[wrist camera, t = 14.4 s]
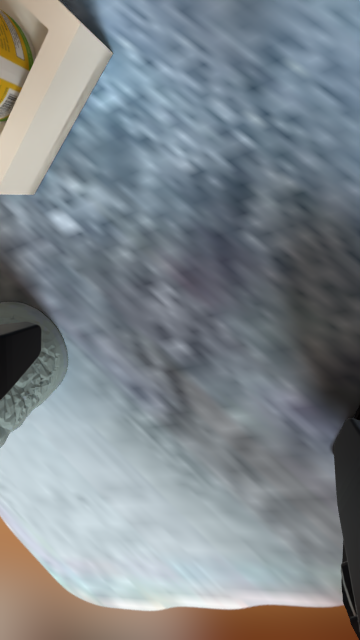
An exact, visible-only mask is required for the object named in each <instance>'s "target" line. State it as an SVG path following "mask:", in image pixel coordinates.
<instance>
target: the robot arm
mask: <svg viewBox="0 0 360 640" xmlns="http://www.w3.org/2000/svg"><path fill="white" fill-rule="evenodd" d="M41 336H42V330H41V327H40V325H38V324H35V323H32V322H27V321H26V322H17V323H9V324H0V400H1V399H2V398H3V397H4V396H5V395H6V394H7V393H8V392H9V391H10V390H11V389H12V388H13V386H14V385H15V384H16V383H17V382H18V380H19V379H20V378H21V377H22V376H23V374H24V373H25V372H26V371H27V370H28V369H29V367H30V366H31V365H32V364H33V363H34V361H35V360H36V359H37V358H38V356H39V355H40V352H41ZM334 461H335V477H336V493H337V505H338V511H339V517H340V523H341V528H342V534H343V561H342V564H341V575H342V593H343V603H344V606H345V608H346V610H347V613H348V616H349V618H350V622H351V625H352V627H353V629H354V631H355V633H356V634H357V636H358V638H359V640H360V407H359V408H358V410H357V412H356V414H355V416H354V418H349V419H347V420H346V421H345V423H344V425H343V427H342V429H341V431H340V433H339V435H338V437H337V439H336V441H335V444H334Z"/></svg>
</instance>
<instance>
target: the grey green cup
mask: <svg viewBox="0 0 360 640" xmlns="http://www.w3.org/2000/svg"><path fill="white" fill-rule="evenodd" d="M26 321H27V322H32V323H35V324H38V325H40V327H41V330H42V336H41V352H40V355H39V356H38V358H37V359H36V360H35V361H34V363H33V364H32V365H31V366H30V367H29V369H28V370H27V371H26V372H25V373H24V374H23V376H22V377H21V378H20V379H19V380H18V382H17V383H16V384H15V385H14V386H13V388H12V389H11V390H10V391H9V392H8V393H7V394H6V395H5V396H4V397H3V398H2V399H1V400H0V448H1V447H2V445H3V444H4V443H5V441H6V439H7V437H8V435H9V434H10V432H12V431H14V430H16V429H17V428H18V427H20V426H21V425H22V423H23V422H24V420H25V419H26V417H27V416H28V415H29V414H30V413H31V411H32V410H33V409H35V408H36V407H38V406H39V405H40V404H42V403H43V402H44V401H45V400H46V399H47V398H48V397H49V396H50V395H51V394H52V393H53V391H54V390H55V389H56V388H57V387H58V386H59V385H60V383H61V382H62V381H63V379H64V377H65V374H66V372H67V367H68V353H67V348H66V345H65V342H64V340H63V337H62V336H61V334H60V332H59V330H58V329H57V328H56V326H55V325H54V324H53V322H52V321H51V320H50V319H49V318H48V317H47V316H45V315H44V314H43V313H42V312H40V311H39V310H37V309H35V308H34V307H32V306H29V305H27V304H24V303H20V302H1V303H0V324H9V323H17V322H26Z"/></svg>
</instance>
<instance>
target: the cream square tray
mask: <svg viewBox="0 0 360 640" xmlns="http://www.w3.org/2000/svg"><path fill="white" fill-rule="evenodd" d="M0 9H1V10H2V11H4V12H5V13H6V14H8V15H9V16H10V17H11V18H13V19H14V20H15V21H16V22H17V23H18V24H19V25H20V26H21V27H22V28H23V30H24V31H25V32H26V34H27V36H28V37H29V39H30V41H31V43H32V46H33V48H34V51H35V54H36V59H35V61H34V63H33V66H32V68H31V70H30V72H29V74H28V76H27V79H26V81H25V83H24V85H23V87H22V89H21V92H20V94H19V96H18V98H17V100H16V102H15V105H14V107H13V109H12V111H11V113H10V115H9V118H8V120H7V122H0V194H4V195H34V194H35V192H36V190H37V189H38V187H39V185H40V183H41V181H42V180H43V178H44V176H45V174H46V172H47V171H48V169H49V167H50V165H51V164H52V162H53V160H54V158H55V156H56V155H57V153H58V151H59V149H60V147H61V146H62V144H63V142H64V140H65V138H66V137H67V135H68V133H69V131H70V130H71V128H72V126H73V124H74V122H75V121H76V119H77V117H78V115H79V113H80V112H81V110H82V108H83V106H84V105H85V103H86V101H87V99H88V97H89V96H90V94H91V92H92V90H93V88H94V87H95V85H96V83H97V81H98V79H99V78H100V76H101V74H102V72H103V71H104V69H105V67H106V65H107V63H108V62H109V60H110V58H111V56H112V54H113V53H112V52H111V51H110V50H109V49H108V48H107V47H106V46H105V45H104V44H103V43H102V42H101V41H100V40H99V39H98V38H97V37H96V36H95V35H94V34H93V33H92V32H91V31H90V30H89V29H88V28H87V27H86V26H85V25H84V24H83V23H82V22H81V21H80V20H79V19H78V18H77V17H76V16H75V15H74V14H73V13H72V12H71V11H70V10H69V9H68V8H67V7H66V6H65V5H64V4H63V3H62V2H61V1H60V0H0Z"/></svg>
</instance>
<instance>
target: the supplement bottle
mask: <svg viewBox="0 0 360 640" xmlns="http://www.w3.org/2000/svg"><path fill="white" fill-rule="evenodd" d="M35 59H36V54H35V51H34V48H33V46H32V43H31V41H30V39H29V37H28V36H27V34H26V32H25V31H24V30H23V28H22V27H21V26H20V25H19V24H18V23H17V22H16V21H15V20H14V19H13V18H11V17H10V16H9V15H8V14H6V13H5V12H4V11H2V10H1V9H0V122H7V120H8V118H9V115H10V113H11V111H12V109H13V107H14V105H15V102H16V100H17V98H18V96H19V94H20V92H21V89H22V87H23V85H24V83H25V81H26V79H27V76H28V74H29V72H30V70H31V68H32V66H33V63H34V61H35Z"/></svg>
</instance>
